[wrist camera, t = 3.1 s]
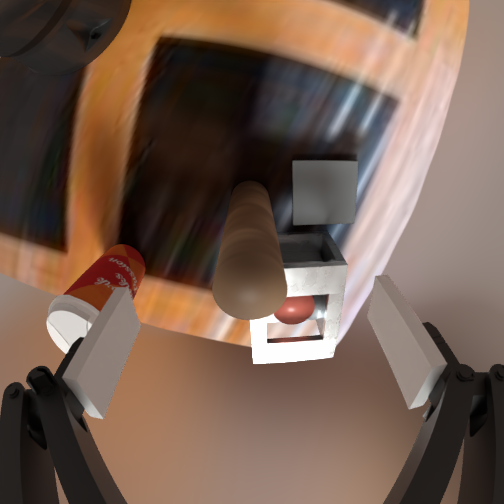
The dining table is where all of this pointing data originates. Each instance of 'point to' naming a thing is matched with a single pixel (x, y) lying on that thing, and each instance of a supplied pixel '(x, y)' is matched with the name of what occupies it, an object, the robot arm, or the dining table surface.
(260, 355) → the box
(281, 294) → the stylus
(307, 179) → the mat
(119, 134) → the dining table surface
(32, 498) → the robot arm
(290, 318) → the button
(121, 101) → the dining table surface
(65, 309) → the paper cup
